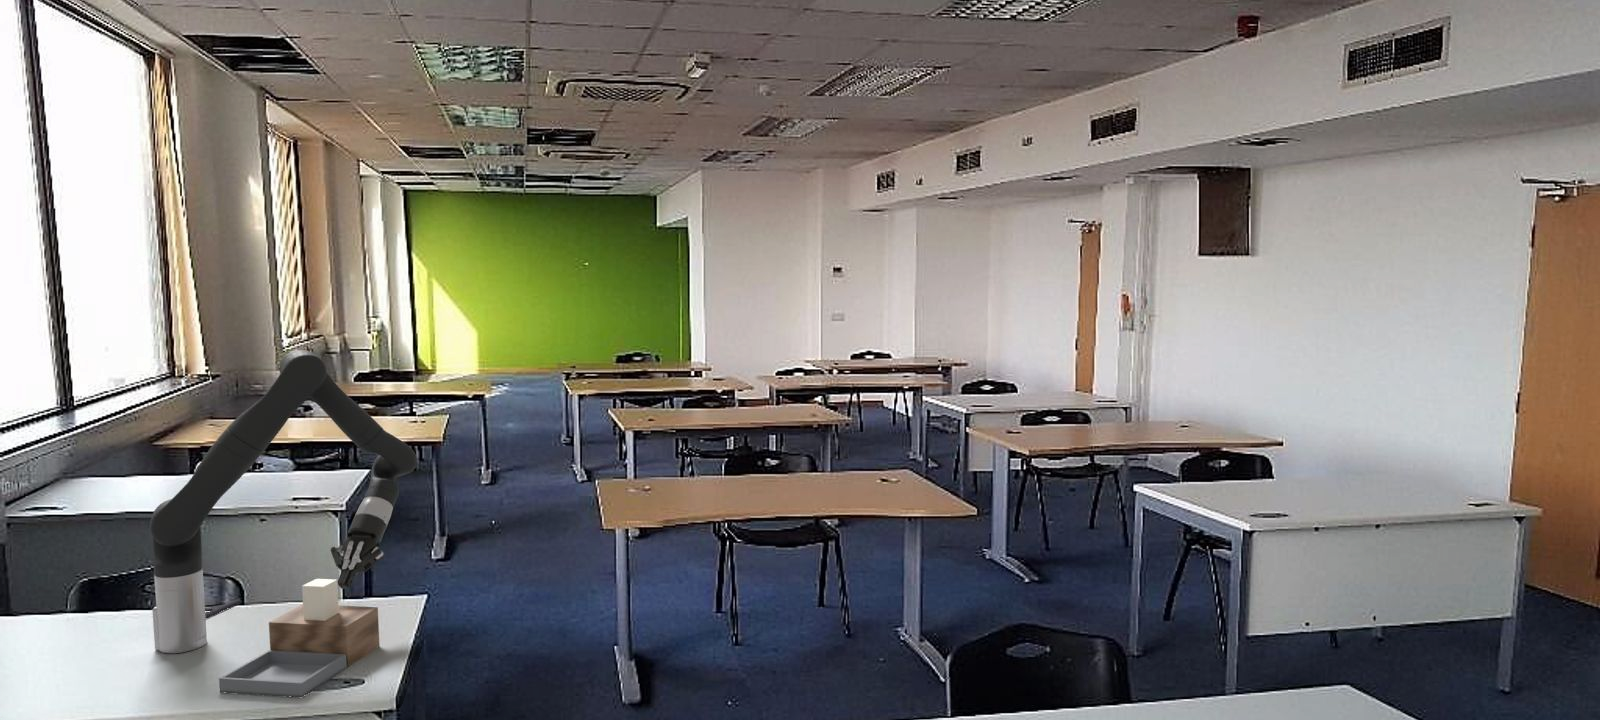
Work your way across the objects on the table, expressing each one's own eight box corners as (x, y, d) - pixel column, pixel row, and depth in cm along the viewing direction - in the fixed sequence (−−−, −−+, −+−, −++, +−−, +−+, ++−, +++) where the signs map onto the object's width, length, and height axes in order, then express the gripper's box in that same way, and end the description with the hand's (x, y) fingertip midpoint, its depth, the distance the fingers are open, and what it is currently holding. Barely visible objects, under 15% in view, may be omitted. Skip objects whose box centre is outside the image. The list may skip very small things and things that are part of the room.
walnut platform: (271, 662, 218) (268, 622, 217) (306, 642, 230) (304, 603, 229) (348, 667, 215) (346, 626, 214) (379, 646, 227) (377, 607, 226)
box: (219, 692, 203) (218, 678, 202) (269, 663, 217) (268, 650, 217) (302, 698, 200) (301, 683, 200) (346, 668, 215) (346, 654, 214)
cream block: (303, 619, 219) (302, 585, 218) (318, 611, 223) (316, 578, 223) (325, 620, 218) (323, 586, 217) (338, 612, 223) (337, 579, 222)
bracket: (191, 602, 260) (190, 591, 260) (242, 605, 257) (241, 594, 257) (145, 622, 246) (144, 610, 245) (198, 625, 243) (198, 614, 243)
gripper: (338, 511, 237) (308, 578, 226) (390, 513, 236) (362, 580, 225) (352, 527, 243) (323, 593, 232) (403, 529, 241) (377, 596, 230)
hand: (343, 587), depth 228 cm, fingers closed
